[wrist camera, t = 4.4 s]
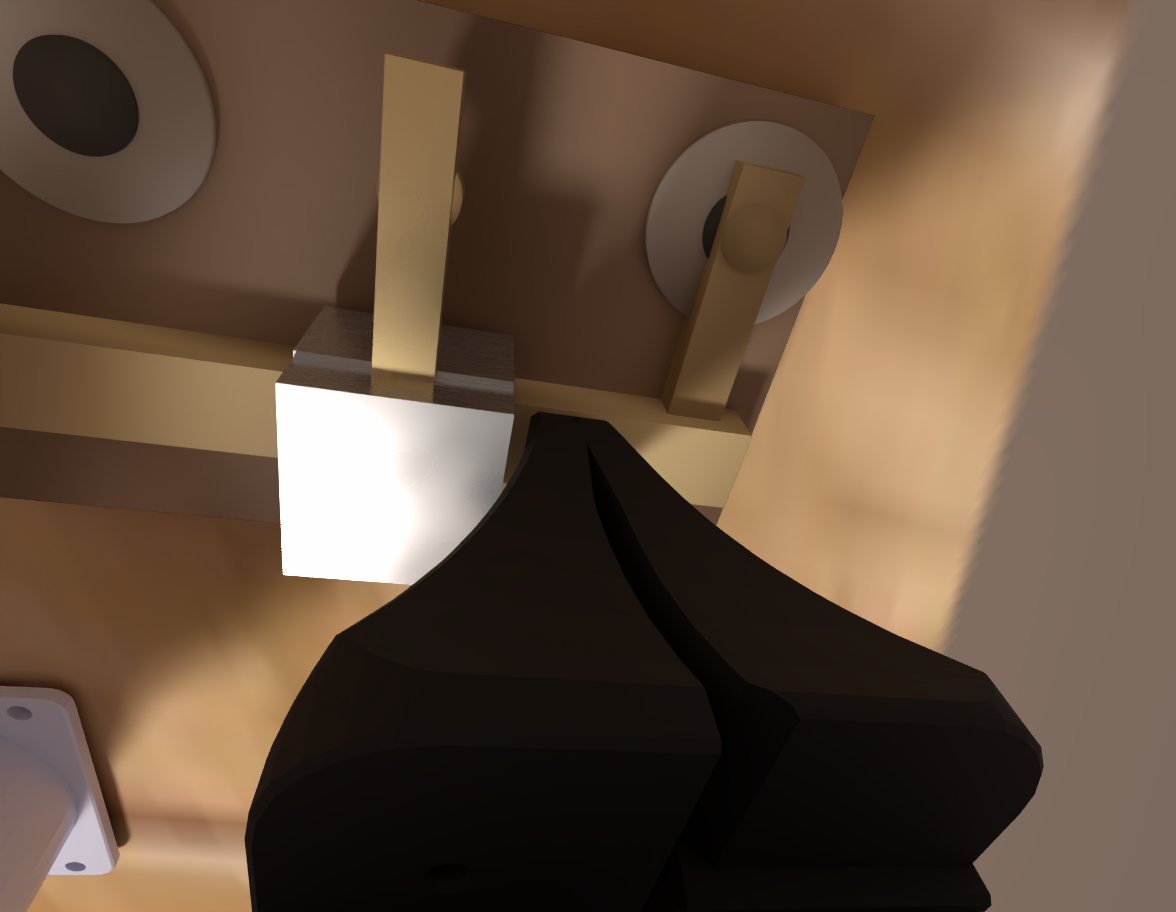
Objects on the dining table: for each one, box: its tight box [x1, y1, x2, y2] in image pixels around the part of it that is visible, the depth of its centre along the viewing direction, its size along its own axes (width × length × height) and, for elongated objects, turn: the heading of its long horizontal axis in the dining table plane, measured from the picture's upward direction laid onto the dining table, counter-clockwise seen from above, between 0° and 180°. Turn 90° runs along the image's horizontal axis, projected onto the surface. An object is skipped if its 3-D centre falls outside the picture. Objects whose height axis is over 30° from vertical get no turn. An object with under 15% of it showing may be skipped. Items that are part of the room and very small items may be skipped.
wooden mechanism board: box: [0, 0, 874, 525], centre depth 11 cm, size 14×9×2 cm, turn 78°
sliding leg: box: [275, 53, 515, 585], centre depth 9 cm, size 3×7×3 cm, turn 168°
